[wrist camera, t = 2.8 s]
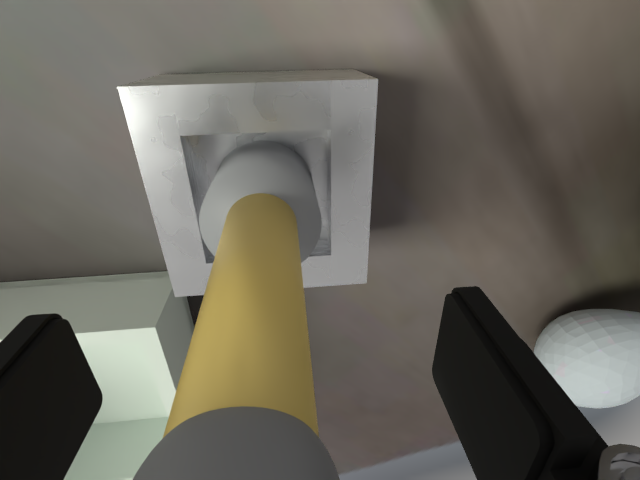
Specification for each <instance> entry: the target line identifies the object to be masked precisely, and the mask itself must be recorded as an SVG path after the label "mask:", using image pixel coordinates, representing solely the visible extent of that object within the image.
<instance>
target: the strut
mask: <svg viewBox="0 0 640 480" xmlns="http://www.w3.org/2000/svg"><path fill="white" fill-rule="evenodd" d="M199 225H200V231H201V235H202V238H203V240H204V242H205V244H206V246H207V247H208V249H209V250H210V252H211V253H212V254H213V255H214V256H215V259H214V262H213V265H212V269H211V272H210V276H209V279H208V283H207V286H206V290H205V293H204V297H203V300H202V304H201V307H200V311H199V314H198V317H197V321H196V324H195V328H194V331H193V335H192V338H191V342H190V345H189V349H188V352H187V356H186V359H185V363H184V366H183V369H182V373H181V376H180V380H179V383H178V387H177V390H176V394H175V397H174V401H173V404H172V408H171V411H170V415H169V418H168V421H167V425H166V428H165V432H164V435H163V439H162V440H161V441H160V442H159V443H158V444H157V445H156V446H155V447H154V449H153V450H152V451H151V452H150V453H149V455H148V456H147V458H146V459H145V461H144V462H143V463H142V465H141V466H140V468H139V469H138V471H137V472H136V474H135V476H134V478H133V480H340V479H339V476H338V473H337V470H336V467H335V465H334V462H333V460H332V458H331V456H330V454H329V452H328V450H327V449H326V447H325V446H324V444H323V443H322V441H321V440H320V438H319V434H318V424H317V414H316V405H315V395H314V385H313V375H312V366H311V356H310V346H309V336H308V327H307V317H306V307H305V297H304V287H303V278H302V268H301V263H302V262H303V261H304V260H306V259H307V258H308V256H309V255H310V254H311V253H312V252H313V250H314V249H315V247H316V245H317V243H318V240H319V238H320V234H321V228H322V219H321V213H320V208H319V204H318V200H317V196H316V192H315V188H314V184H313V180H312V176H311V173H310V170H309V168H308V166H307V165H306V163H305V162H304V160H303V159H302V158H301V157H300V156H299V155H298V154H297V153H296V152H295V151H293V150H292V149H290V148H289V147H287V146H285V145H283V144H280V143H277V142H273V141H262V140H260V141H252V142H248V143H245V144H242V145H240V146H238V147H237V148H235V149H233V150H232V151H231V152H230V153H229V154H228V155H227V156H226V157H225V158H224V159H223V161H222V162H221V164H220V166H219V168H218V170H217V172H216V174H215V176H214V179H213V181H212V183H211V185H210V187H209V189H208V192H207V194H206V196H205V198H204V200H203V203H202V206H201V209H200V215H199Z"/></svg>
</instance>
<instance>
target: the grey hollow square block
mask: <svg viewBox="0 0 640 480" xmlns="http://www.w3.org/2000/svg"><path fill="white" fill-rule="evenodd" d="M118 91H119V94H120V98H121V102H122V105H123V109H124V113H125V116H126V120H127V124H128V127H129V131H130V135H131V138H132V142H133V146H134V149H135V153H136V156H137V160H138V164H139V167H140V171H141V175H142V178H143V182H144V186H145V189H146V193H147V197H148V200H149V204H150V208H151V211H152V215H153V219H154V222H155V226H156V229H157V233H158V237H159V240H160V244H161V248H162V251H163V255H164V259H165V262H166V266H167V270H168V273H169V277H170V281H171V284H172V288H173V292H174V295H175V297H183V296H197V295H204V293H205V290H206V286H207V283H208V279H209V276H210V272H211V269H212V265H213V262H214V259H215V256H214V255H213V254H212V253H211V252H210V250H209V249H208V247H207V246H206V244H205V242H204V240H203V238H202V235H201V231H200V225H199V215H200V209H201V206H202V203H203V200H204V198H205V196H206V194H207V192H208V189H209V187H210V185H211V183H212V181H213V179H214V176H215V174H216V172H217V170H218V168H219V166H220V164H221V162H222V161H223V159H224V158H225V157H226V156H227V155H228V154H229V153H230V152H231V151H232V150H233V149H235V148H237V147H238V146H240V145H242V144H245V143H248V142H252V141H260V140H262V141H273V142H277V143H280V144H283V145H285V146H287V147H289V148H290V149H292V150H293V151H295V152H296V153H297V154H298V155H299V156H300V157H301V158H302V159H303V160H304V162H305V163H306V165H307V166H308V168H309V170H310V173H311V176H312V180H313V184H314V188H315V192H316V196H317V200H318V204H319V208H320V213H321V219H322V228H321V234H320V238H319V240H318V243H317V245H316V247H315V249H314V250H313V252H312V253H311V254H310V255H309V256H308V258H307V259H306V260H304V261H303V262H302V263H301V268H302V278H303V287H304V288H306V287H320V286H334V285H348V284H361V283H367V268H368V250H369V233H370V215H371V198H372V180H373V163H374V145H375V128H376V110H377V93H378V79H377V78H374V77H372V76H369V75H367V74H364V73H362V72H359V71H357V70H355V69H335V70H298V71H261V72H224V73H187V74H160V75H156V76H153V77H149V78H146V79H142V80H139V81H135V82H132V83H129V84H125V85H122V86H118Z"/></svg>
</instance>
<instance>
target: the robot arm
mask: <svg viewBox="0 0 640 480" xmlns="http://www.w3.org/2000/svg"><path fill="white" fill-rule="evenodd" d="M432 373H433V378H434V382H435V384H436V386H437V389H438V391H439V393H440V395H441V398H442V400H443V402H444V405H445V407H446V409H447V412H448V414H449V416H450V418H451V421H452V423H453V425H454V428H455V430H456V432H457V434H458V437H459V439H460V441H461V444H462V446H463V448H464V450H465V453H466V455H467V457H468V460H469V462H470V464H471V466H472V469H473V471H474V473H475V475H476V478H477V480H640V448H639V447H637V446H632V445H625V444H617V445H612V446H608V445H607V444H606V443H605V442H604V440H603V439H602V438H601V436H600V435H599V434H598V433H597V432H596V430H595V429H594V428H593V427H592V425H591V424H590V423H589V422H588V420H587V419H586V418H585V417H584V416H583V414H582V413H581V412H580V410H579V409H578V408H577V407H576V405H575V404H574V403H573V402H572V400H571V399H570V398H569V397H568V395H567V394H566V393H565V392H564V390H563V389H562V388H561V387H560V385H559V384H558V383H557V382H556V380H555V379H554V378H553V377H552V375H551V374H550V373H549V372H548V370H547V369H546V368H545V367H544V365H543V364H542V363H541V362H540V360H539V359H538V358H537V357H536V355H535V354H534V353H533V352H532V350H531V349H530V348H529V347H528V345H527V344H526V343H525V342H524V341H523V340H522V339H521V338H519V336H518V335H517V334H516V333H515V331H514V330H513V329H512V328H511V326H510V325H509V324H508V323H507V321H506V320H505V319H504V318H503V316H502V315H501V314H500V312H499V311H498V310H497V309H496V307H495V306H494V305H493V304H492V302H491V301H490V300H489V299H488V297H487V296H486V295H485V294H484V292H483V291H482V290H481V289H480V288H479V287H476V286H474V287H459V288H454V289H453V290H452V293H451V294H447V295H446V297H445V302H444V307H443V313H442V318H441V323H440V329H439V334H438V340H437V345H436V350H435V356H434V361H433V367H432ZM102 400H103V397H102V392H101V390H100V388H99V385H98V383H97V381H96V379H95V377H94V375H93V372H92V370H91V368H90V366H89V364H88V362H87V359H86V357H85V355H84V353H83V351H82V349H81V346H80V344H79V342H78V340H77V338H76V335H75V333H74V331H73V329H72V327H71V325H70V323H69V321H68V320H66V319H63V318H62V317H61V316H60V315H59V314H55V313H52V314H36V315H29V316H26V317H25V318H24V319H23V320H22V321H21V322H20V323H19V324H18V325H17V326H16V327H15V328H14V329H13V330H12V331H11V332H10V333H9V334H8V335H7V336H6V337H5V338H4V339H3V340H2V341H1V342H0V480H64V478H65V476H66V474H67V472H68V470H69V468H70V466H71V464H72V462H73V460H74V458H75V457H76V455H77V453H78V451H79V449H80V447H81V445H82V443H83V441H84V439H85V437H86V435H87V433H88V432H89V430H90V428H91V426H92V424H93V422H94V420H95V418H96V416H97V414H98V412H99V410H100V408H101V405H102Z"/></svg>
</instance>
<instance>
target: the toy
mask: <svg viewBox="0 0 640 480" xmlns="http://www.w3.org/2000/svg"><path fill="white" fill-rule="evenodd" d="M534 354H535V355H536V357H537V358H538V359H539V360H540V362H541V363H542V364H543V365H544V367H545V368H546V369H547V370H548V372H549V373H550V374H551V375H552V377H553V378H554V379H555V380H556V382H557V383H558V384H559V385H560V387H561V388H562V389H563V390H564V392H565V393H566V394H567V395H568V397H569V398H570V399H571V400H572V402H573V403H574V404H575V405H576V406H581V407H591V408H607V407H614V406H617V405H621V404H625V403H627V402H629V401H631V400H632V399H634V398H636V397H637V396H639V395H640V312H633V311H625V310H617V309H586V310H579V311H573V312H570V313H567V314H565V315H562V316H559V317H558V318H556V319H555V320H553V321H552V322H551V323H549V324H548V325H547V326H546V327H545V328H544V330H543V331H542V333H541V334H540V336H539V337H538V339H537V341H536V345H535V348H534Z"/></svg>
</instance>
